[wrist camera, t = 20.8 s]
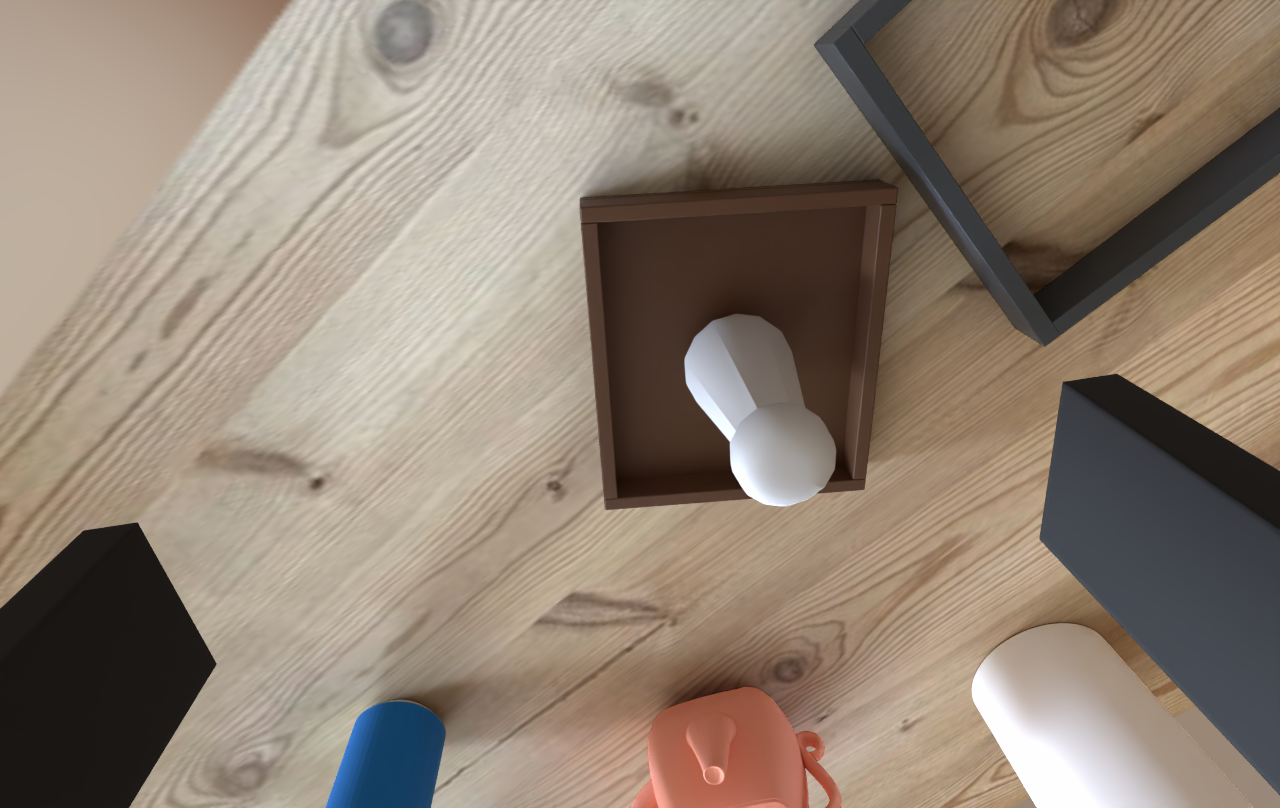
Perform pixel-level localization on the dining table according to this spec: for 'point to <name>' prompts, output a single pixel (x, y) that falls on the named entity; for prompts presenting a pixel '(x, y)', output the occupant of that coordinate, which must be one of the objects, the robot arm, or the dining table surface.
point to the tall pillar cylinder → (1090, 727)
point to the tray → (719, 287)
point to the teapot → (731, 756)
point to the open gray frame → (1038, 317)
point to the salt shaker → (760, 409)
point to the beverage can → (390, 758)
